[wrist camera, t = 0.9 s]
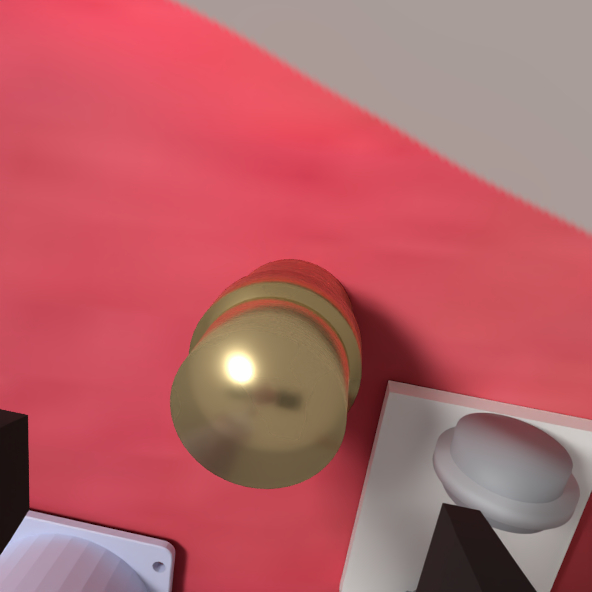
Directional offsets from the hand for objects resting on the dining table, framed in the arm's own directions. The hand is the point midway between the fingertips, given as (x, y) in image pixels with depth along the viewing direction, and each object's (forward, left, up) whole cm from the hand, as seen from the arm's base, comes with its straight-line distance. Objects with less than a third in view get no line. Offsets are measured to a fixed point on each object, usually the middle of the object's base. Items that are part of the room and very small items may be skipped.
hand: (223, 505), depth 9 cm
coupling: (0, 0, -9) cm, 9 cm away
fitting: (-6, -7, -9) cm, 13 cm away
